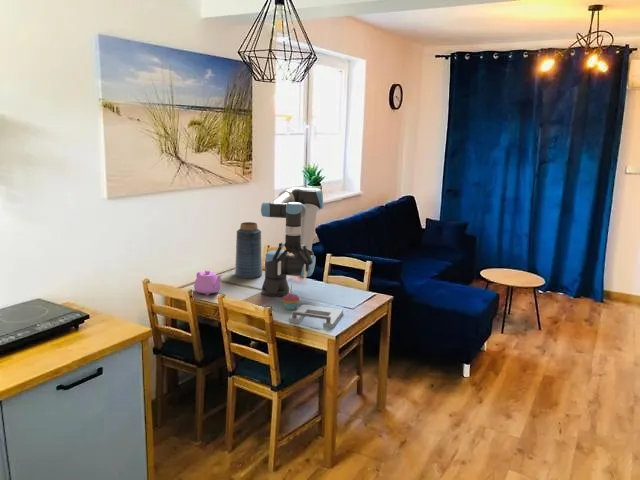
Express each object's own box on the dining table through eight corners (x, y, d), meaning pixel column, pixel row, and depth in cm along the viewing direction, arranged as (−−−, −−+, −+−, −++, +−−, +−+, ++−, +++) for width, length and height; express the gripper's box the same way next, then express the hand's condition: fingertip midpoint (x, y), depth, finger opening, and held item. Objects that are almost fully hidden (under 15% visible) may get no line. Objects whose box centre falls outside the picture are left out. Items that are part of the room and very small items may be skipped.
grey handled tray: (289, 321, 245) (289, 311, 244) (302, 308, 264) (302, 298, 263) (332, 328, 240) (332, 317, 238) (342, 313, 258) (343, 303, 257)
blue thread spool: (233, 271, 323) (233, 221, 316) (260, 270, 327) (260, 221, 320) (236, 279, 307) (236, 226, 301) (263, 278, 311) (264, 226, 304)
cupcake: (282, 305, 267) (282, 282, 265) (298, 305, 268) (299, 282, 265) (282, 310, 259) (283, 287, 256) (299, 311, 260) (300, 287, 257)
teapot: (231, 293, 282) (231, 271, 279) (211, 300, 271) (211, 277, 268) (206, 285, 294) (206, 264, 291) (186, 291, 282) (185, 270, 280)
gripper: (266, 233, 255) (265, 275, 260) (315, 238, 248) (314, 280, 253) (271, 230, 262) (271, 271, 267) (319, 235, 256) (318, 276, 260)
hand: (292, 276), depth 260 cm, fingers open, 13 cm apart
